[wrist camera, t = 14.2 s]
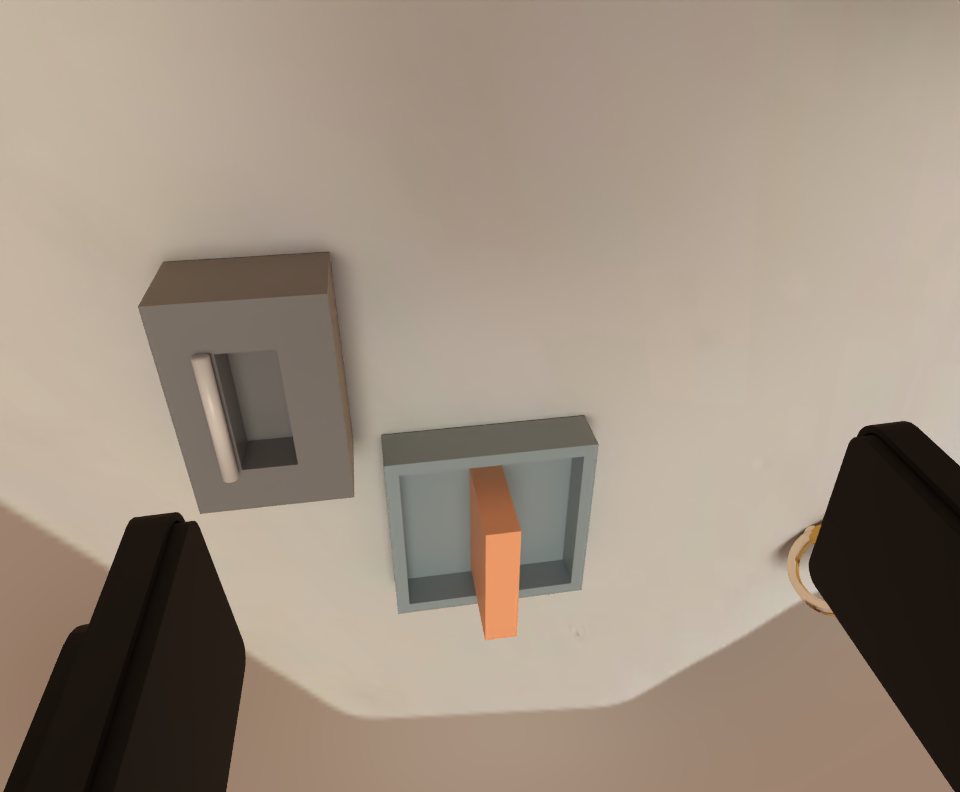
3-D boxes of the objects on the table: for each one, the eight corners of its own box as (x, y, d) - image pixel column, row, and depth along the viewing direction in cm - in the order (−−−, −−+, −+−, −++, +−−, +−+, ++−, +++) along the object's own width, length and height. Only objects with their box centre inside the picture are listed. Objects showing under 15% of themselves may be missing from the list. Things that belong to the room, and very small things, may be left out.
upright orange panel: (499, 564, 48) (501, 463, 43) (516, 635, 43) (521, 531, 38) (470, 568, 48) (469, 466, 43) (485, 640, 43) (485, 535, 38)
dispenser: (329, 251, 35) (326, 301, 30) (353, 441, 42) (354, 507, 37) (162, 262, 34) (133, 315, 29) (214, 455, 41) (197, 524, 36)
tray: (583, 415, 43) (598, 444, 41) (569, 557, 50) (581, 589, 48) (381, 435, 42) (383, 466, 39) (395, 579, 49) (398, 613, 46)
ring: (845, 494, 51) (919, 575, 45) (857, 517, 53) (930, 599, 47) (761, 541, 53) (821, 627, 46) (775, 563, 55) (835, 648, 48)
